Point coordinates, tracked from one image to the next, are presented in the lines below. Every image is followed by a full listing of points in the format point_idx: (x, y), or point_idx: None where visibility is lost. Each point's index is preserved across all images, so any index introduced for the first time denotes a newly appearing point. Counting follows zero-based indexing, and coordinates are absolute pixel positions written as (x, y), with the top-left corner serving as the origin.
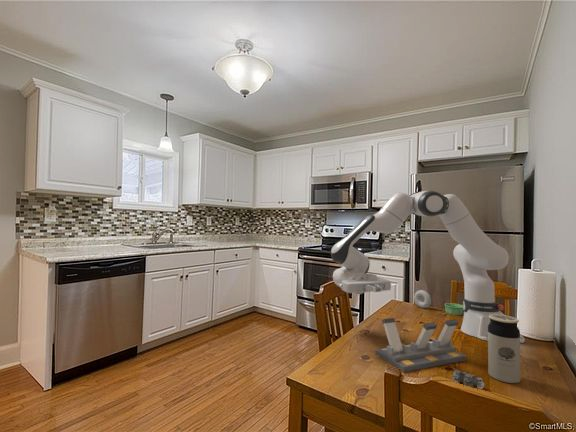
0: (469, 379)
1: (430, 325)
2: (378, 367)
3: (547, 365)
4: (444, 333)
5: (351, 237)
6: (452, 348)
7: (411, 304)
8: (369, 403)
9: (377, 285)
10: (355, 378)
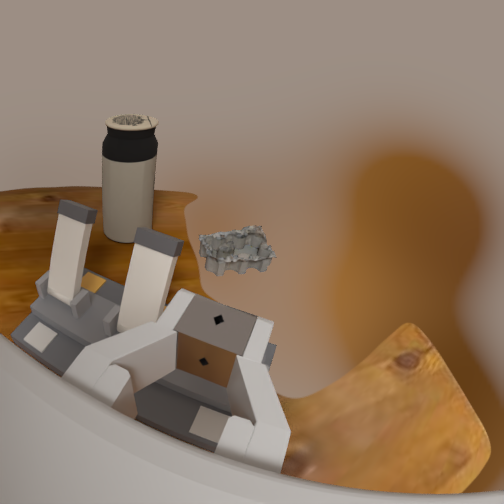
0: (226, 243)
1: (166, 235)
2: (309, 402)
3: (36, 198)
4: (85, 255)
5: None
6: None
7: None
8: (412, 336)
9: (133, 341)
10: (395, 397)
